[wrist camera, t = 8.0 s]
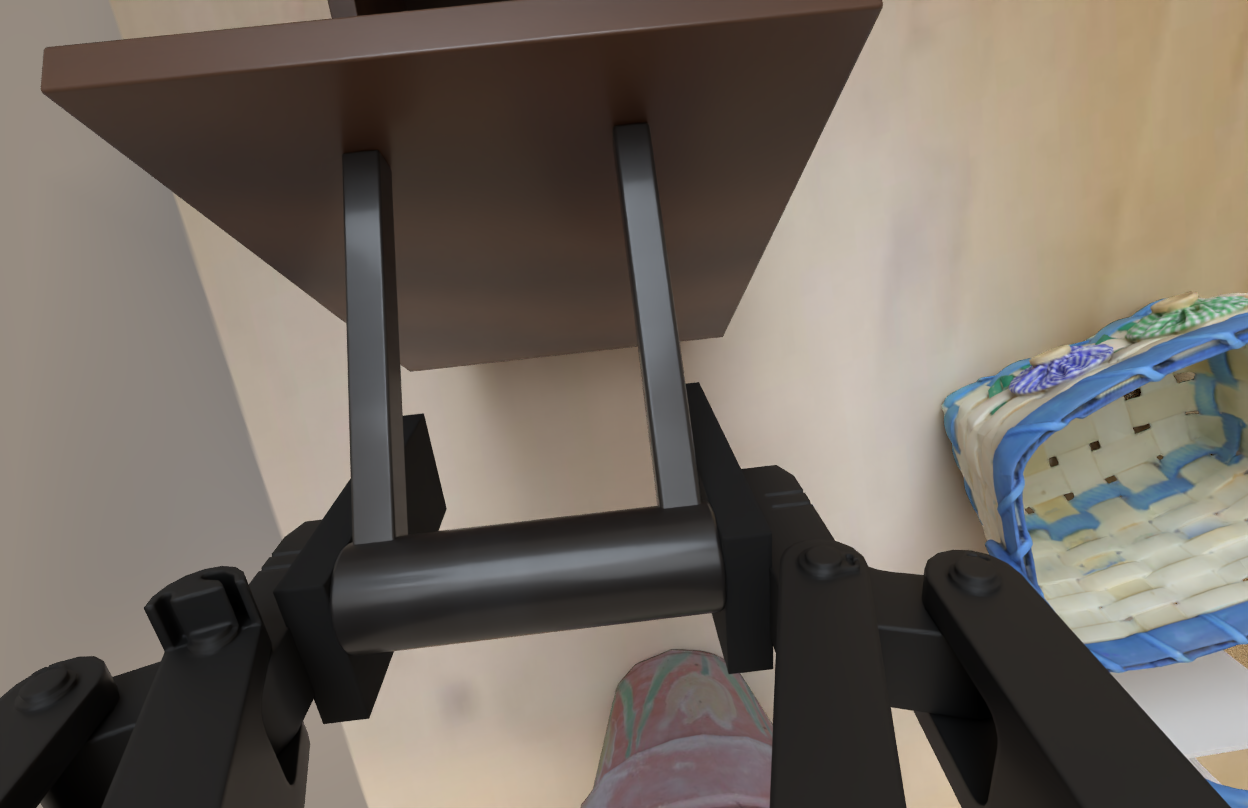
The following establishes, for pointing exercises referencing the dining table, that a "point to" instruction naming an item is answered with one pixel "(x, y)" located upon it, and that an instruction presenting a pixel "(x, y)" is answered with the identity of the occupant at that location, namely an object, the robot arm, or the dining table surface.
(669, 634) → the dining table surface
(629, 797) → the potted plant
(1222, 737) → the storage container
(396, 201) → the lid
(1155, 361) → the basket
